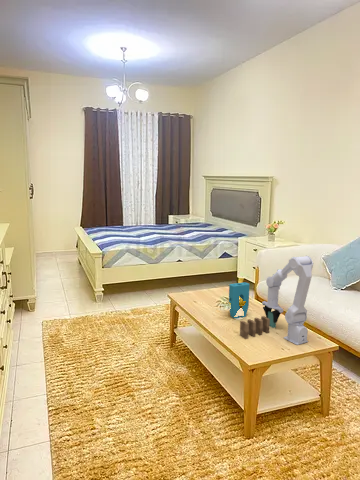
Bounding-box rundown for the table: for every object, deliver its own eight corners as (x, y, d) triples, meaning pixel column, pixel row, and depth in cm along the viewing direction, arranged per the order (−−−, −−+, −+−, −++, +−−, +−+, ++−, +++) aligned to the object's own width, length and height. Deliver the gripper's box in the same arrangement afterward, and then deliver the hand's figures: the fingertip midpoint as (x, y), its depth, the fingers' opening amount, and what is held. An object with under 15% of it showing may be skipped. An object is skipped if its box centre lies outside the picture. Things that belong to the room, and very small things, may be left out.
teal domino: (275, 327, 205) (276, 313, 203) (273, 328, 204) (274, 314, 203) (269, 324, 209) (270, 311, 208) (267, 325, 208) (268, 311, 207)
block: (244, 313, 226) (245, 282, 223) (248, 316, 221) (250, 284, 218) (227, 316, 221) (228, 284, 218) (232, 319, 216) (233, 286, 213)
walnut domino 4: (269, 333, 197) (269, 318, 196) (266, 333, 196) (267, 319, 195) (262, 329, 201) (263, 315, 200) (260, 330, 201) (261, 316, 199)
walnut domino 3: (262, 334, 195) (263, 320, 193) (260, 335, 194) (260, 321, 193) (256, 331, 199) (256, 317, 198) (253, 332, 198) (254, 317, 197)
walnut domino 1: (248, 338, 190) (248, 323, 189) (245, 339, 189) (246, 324, 188) (242, 334, 194) (242, 320, 193) (239, 335, 194) (240, 321, 192)
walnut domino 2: (255, 336, 192) (256, 322, 191) (253, 337, 192) (253, 322, 190) (249, 333, 197) (249, 319, 195) (246, 333, 196) (247, 319, 195)
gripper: (287, 300, 200) (286, 323, 202) (269, 293, 212) (268, 315, 214) (278, 302, 196) (276, 326, 198) (259, 294, 209) (258, 317, 211)
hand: (271, 320), depth 206 cm, fingers closed on teal domino, 5 cm apart
